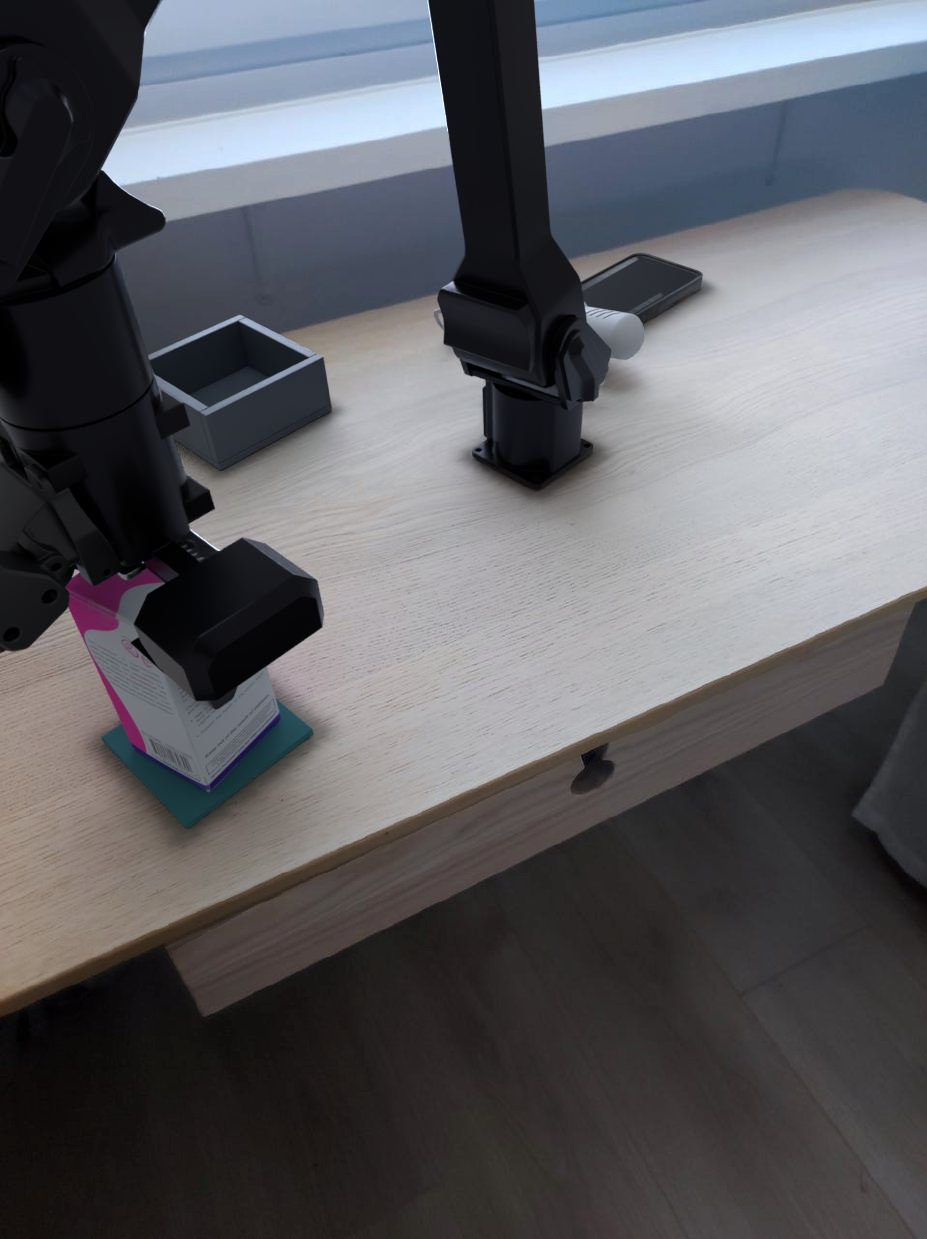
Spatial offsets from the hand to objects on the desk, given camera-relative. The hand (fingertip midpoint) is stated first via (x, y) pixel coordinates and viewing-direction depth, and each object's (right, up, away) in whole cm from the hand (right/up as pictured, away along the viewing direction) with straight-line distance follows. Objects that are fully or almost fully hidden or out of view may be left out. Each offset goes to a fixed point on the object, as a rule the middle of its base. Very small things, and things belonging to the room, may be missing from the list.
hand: (184, 668), depth 45 cm
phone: (+28, +31, +37) cm, 56 cm away
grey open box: (-4, +19, +26) cm, 32 cm away
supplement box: (0, -4, +4) cm, 5 cm away
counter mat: (0, -4, +4) cm, 5 cm away
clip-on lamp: (+19, +23, +30) cm, 42 cm away
